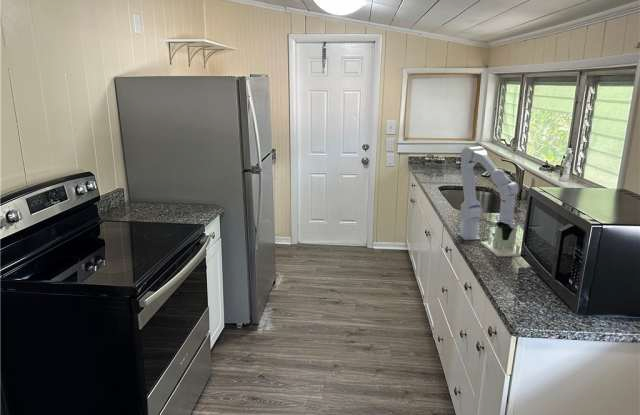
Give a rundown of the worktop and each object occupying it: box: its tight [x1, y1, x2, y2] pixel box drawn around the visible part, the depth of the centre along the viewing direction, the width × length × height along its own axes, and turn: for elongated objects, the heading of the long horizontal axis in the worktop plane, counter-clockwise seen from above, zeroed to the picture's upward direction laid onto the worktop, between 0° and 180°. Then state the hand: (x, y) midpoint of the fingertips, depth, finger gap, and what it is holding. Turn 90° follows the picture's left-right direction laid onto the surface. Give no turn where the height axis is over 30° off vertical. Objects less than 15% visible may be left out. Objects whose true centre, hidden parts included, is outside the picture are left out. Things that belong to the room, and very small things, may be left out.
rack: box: [480, 235, 522, 257], centre depth 197 cm, size 17×13×4 cm
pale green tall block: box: [493, 226, 518, 248], centre depth 196 cm, size 2×9×9 cm, turn 94°
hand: (503, 239), depth 196 cm, fingers closed on pale green tall block, 2 cm apart
